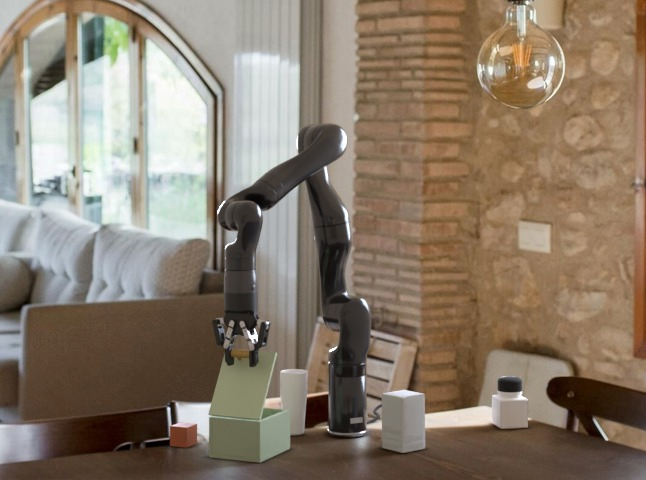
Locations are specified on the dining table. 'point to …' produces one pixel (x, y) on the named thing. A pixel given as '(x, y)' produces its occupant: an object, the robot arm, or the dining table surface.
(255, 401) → the lid
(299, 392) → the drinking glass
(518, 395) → the medicine bottle
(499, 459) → the dining table surface
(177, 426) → the block
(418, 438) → the white packaging box
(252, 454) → the chest
